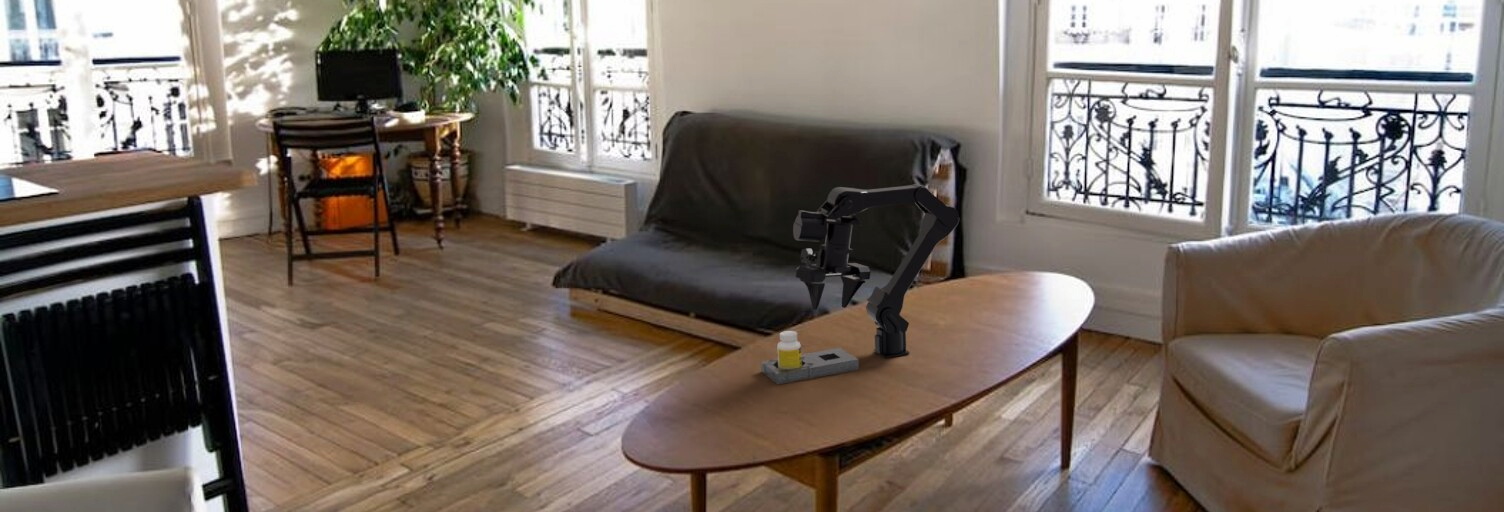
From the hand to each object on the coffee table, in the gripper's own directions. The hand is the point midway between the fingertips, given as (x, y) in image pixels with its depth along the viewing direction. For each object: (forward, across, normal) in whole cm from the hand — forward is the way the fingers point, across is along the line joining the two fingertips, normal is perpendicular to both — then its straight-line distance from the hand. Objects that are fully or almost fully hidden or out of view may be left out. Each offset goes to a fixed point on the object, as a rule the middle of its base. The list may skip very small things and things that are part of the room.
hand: (829, 308), depth 274 cm
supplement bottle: (+15, +10, +1) cm, 18 cm away
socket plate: (+14, +6, +2) cm, 15 cm away
